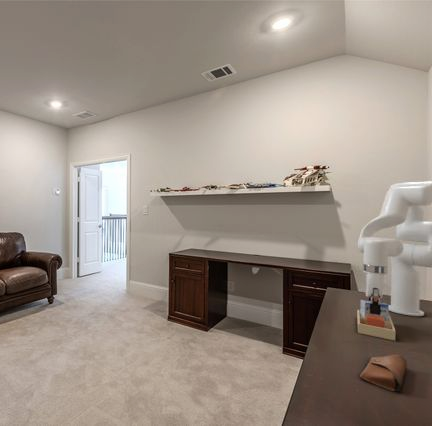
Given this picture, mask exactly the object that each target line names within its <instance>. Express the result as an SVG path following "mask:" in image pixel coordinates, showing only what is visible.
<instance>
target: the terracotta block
mask: <svg viewBox="0 0 432 426" xmlns="http://www.w3.org/2000/svg"><path fill="white" fill-rule="evenodd" d="M366 325H370V326H375V327H380V328H384V326H385V320H384V317H380V316H374V315H369V314H367V316H366Z"/></svg>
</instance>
